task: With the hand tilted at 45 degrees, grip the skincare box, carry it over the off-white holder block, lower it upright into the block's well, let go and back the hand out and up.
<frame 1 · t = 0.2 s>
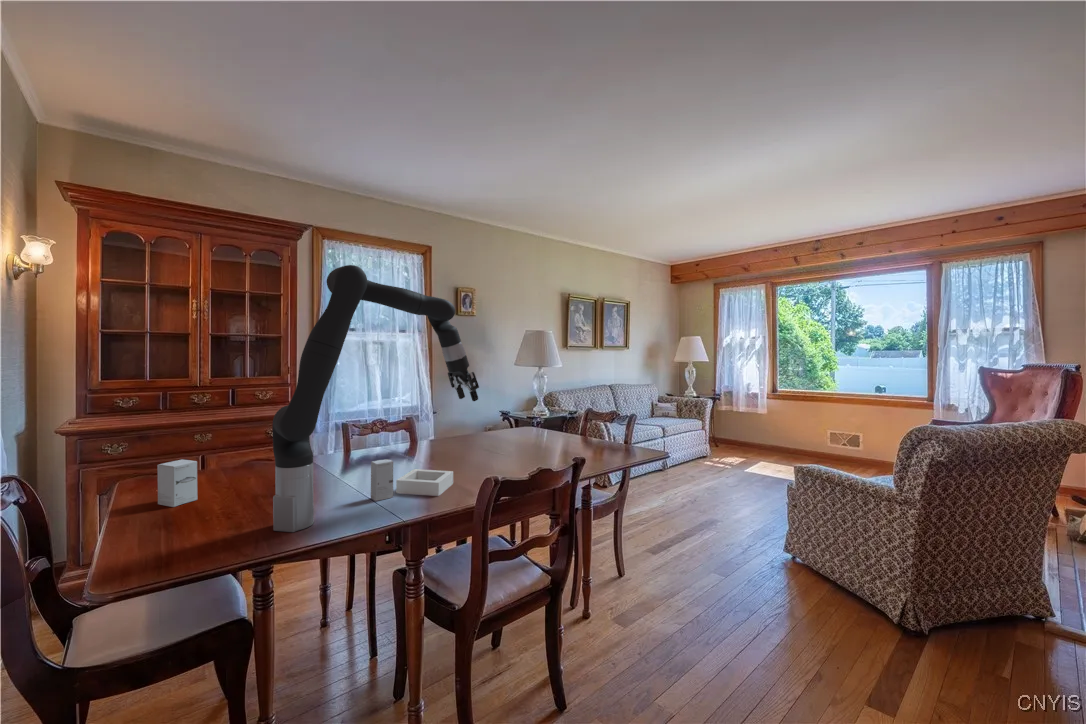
hand: (468, 399, 165), 31 cm above the table, fingers open, 8 cm apart
skincare box: (382, 498, 153), on the table
well holder: (425, 488, 163), on the table
supplement box: (178, 502, 146), on the table
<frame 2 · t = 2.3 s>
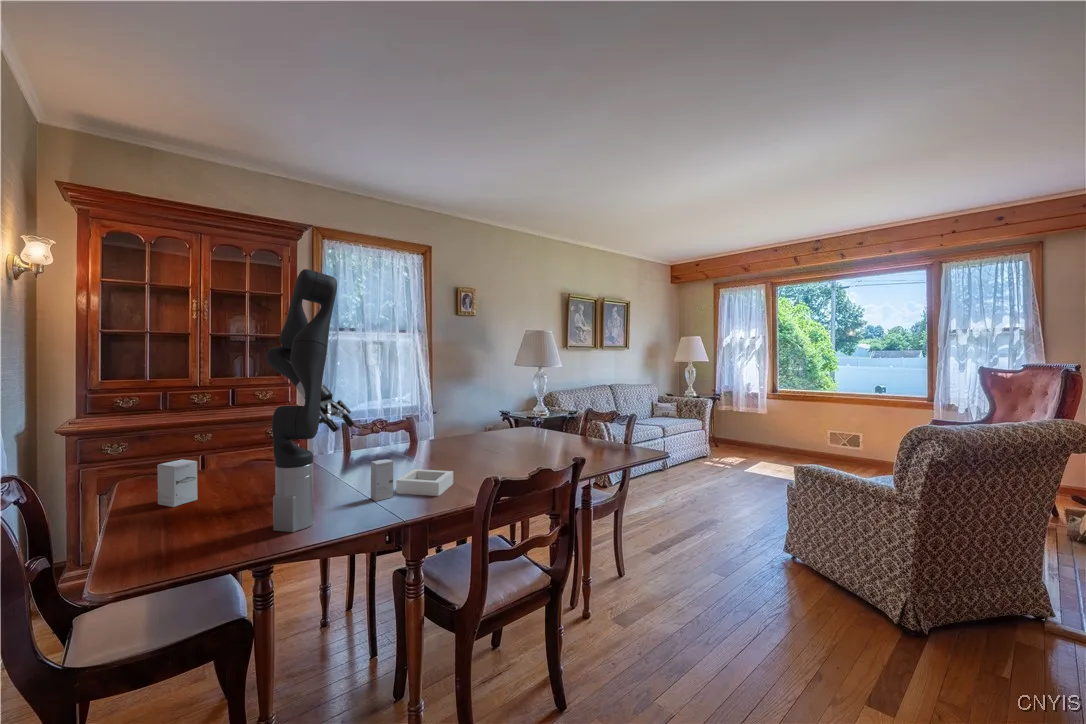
hand: (344, 427, 154), 22 cm above the table, fingers open, 8 cm apart
nothing on the table moved.
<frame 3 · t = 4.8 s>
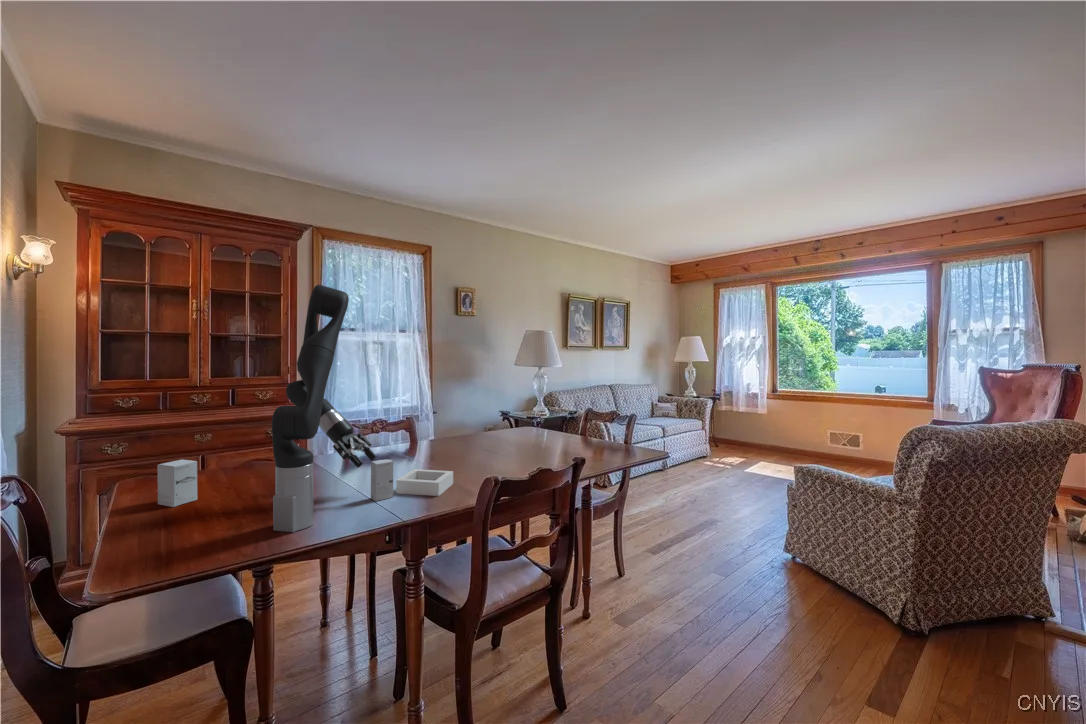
hand: (367, 462, 153), 11 cm above the table, fingers open, 8 cm apart
nothing on the table moved.
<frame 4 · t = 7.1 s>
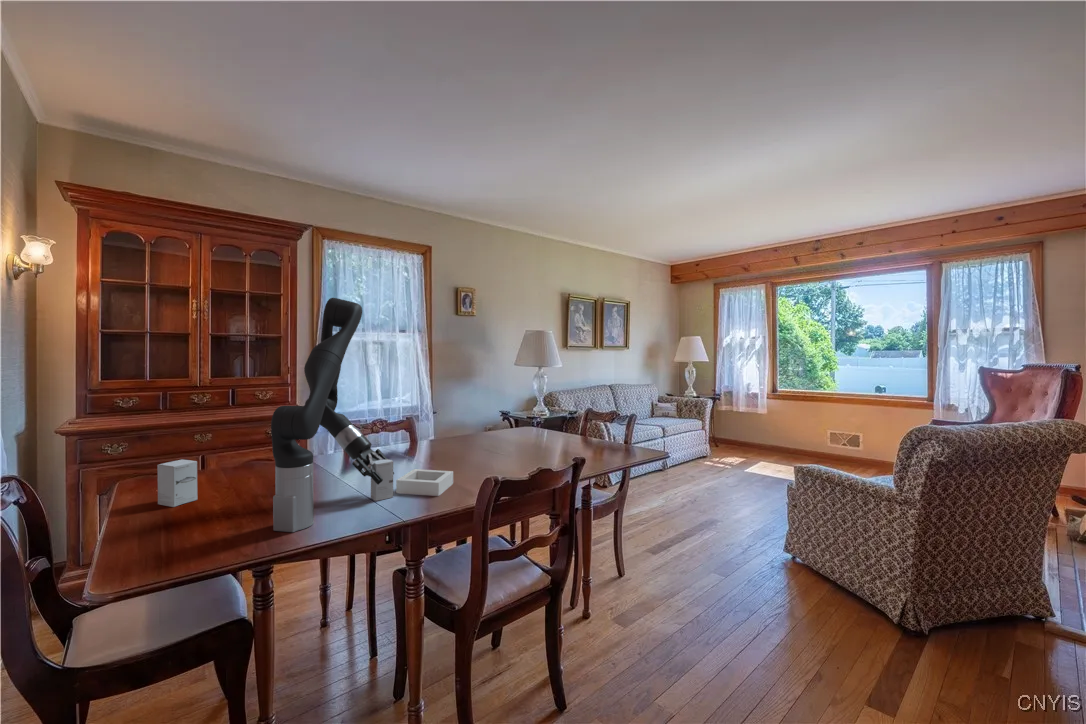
hand: (386, 478, 152), 6 cm above the table, fingers closed on skincare box, 7 cm apart
skincare box: (382, 498, 153), on the table, touching gripper
everything else where it was.
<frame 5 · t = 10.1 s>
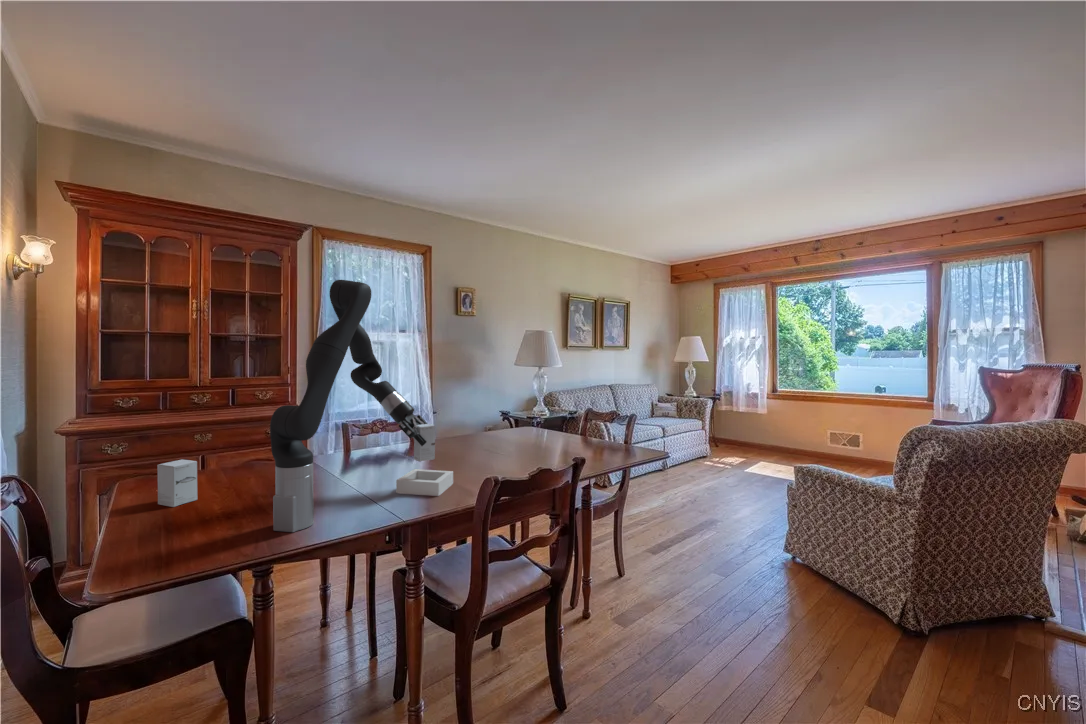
hand: (429, 441, 162), 16 cm above the table, fingers closed on skincare box, 7 cm apart
skincare box: (424, 460, 163), point 10 cm above the table, touching gripper
everything else where it was.
when the fingers open (8 cm above the table, at t = 13.1 s): skincare box stays where it is, resting on well holder.
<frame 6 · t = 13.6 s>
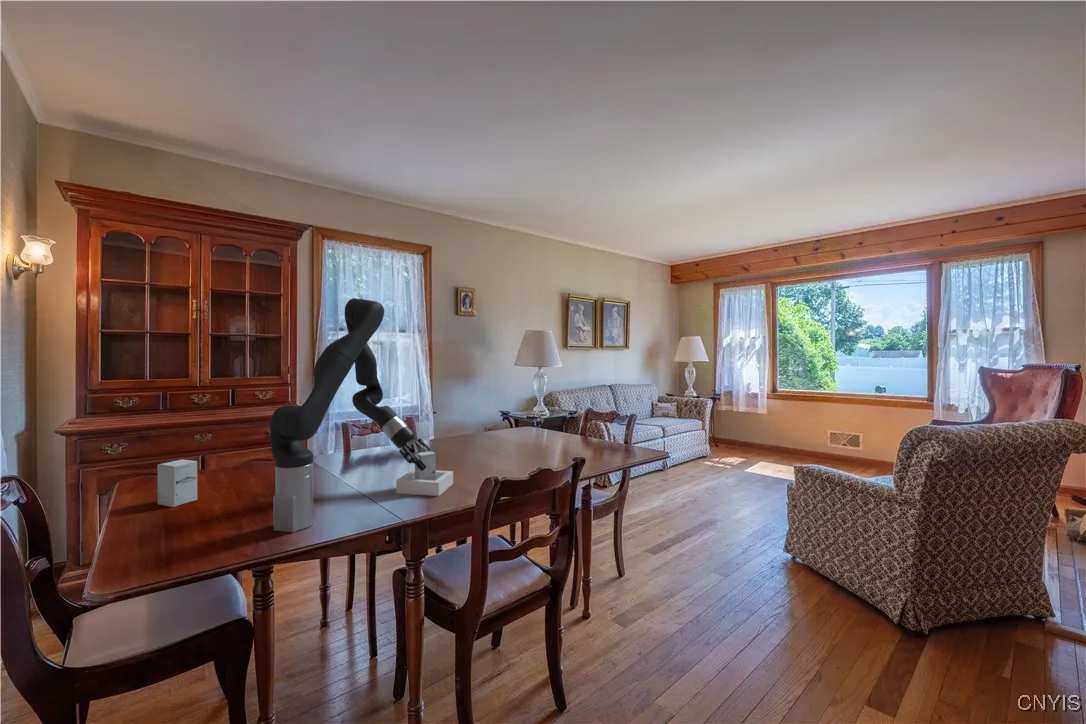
hand: (429, 466, 162), 8 cm above the table, fingers open, 8 cm apart
skincare box: (425, 487, 163), resting on well holder
everything else where it was.
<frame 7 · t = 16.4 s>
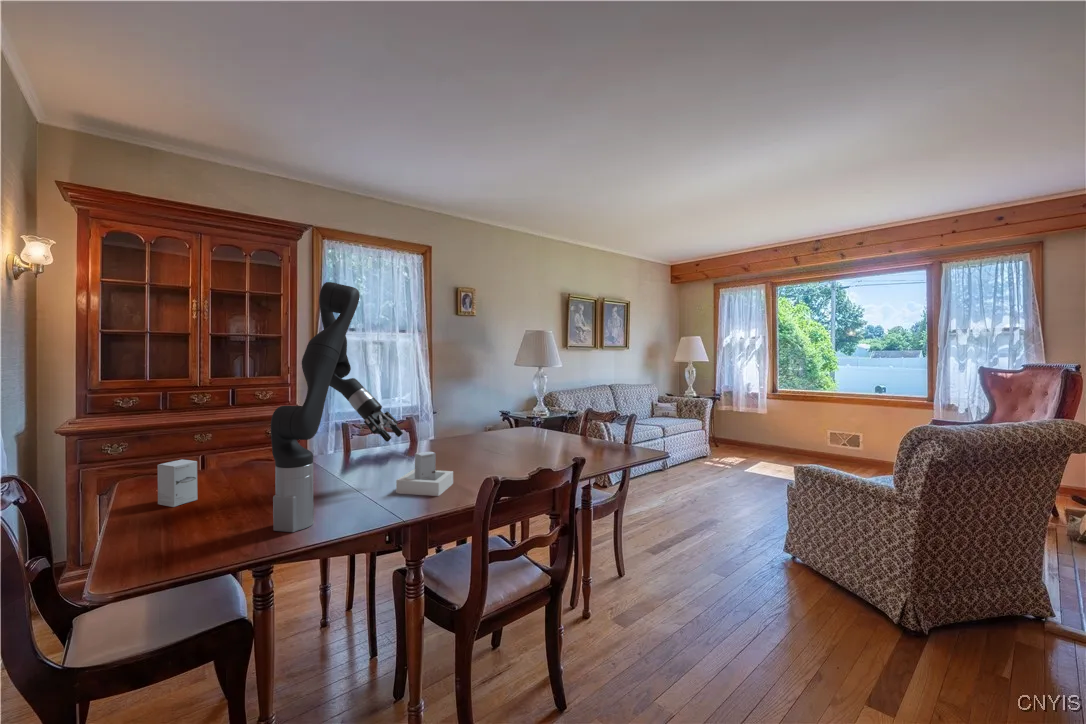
hand: (395, 437, 164), 17 cm above the table, fingers open, 8 cm apart
nothing on the table moved.
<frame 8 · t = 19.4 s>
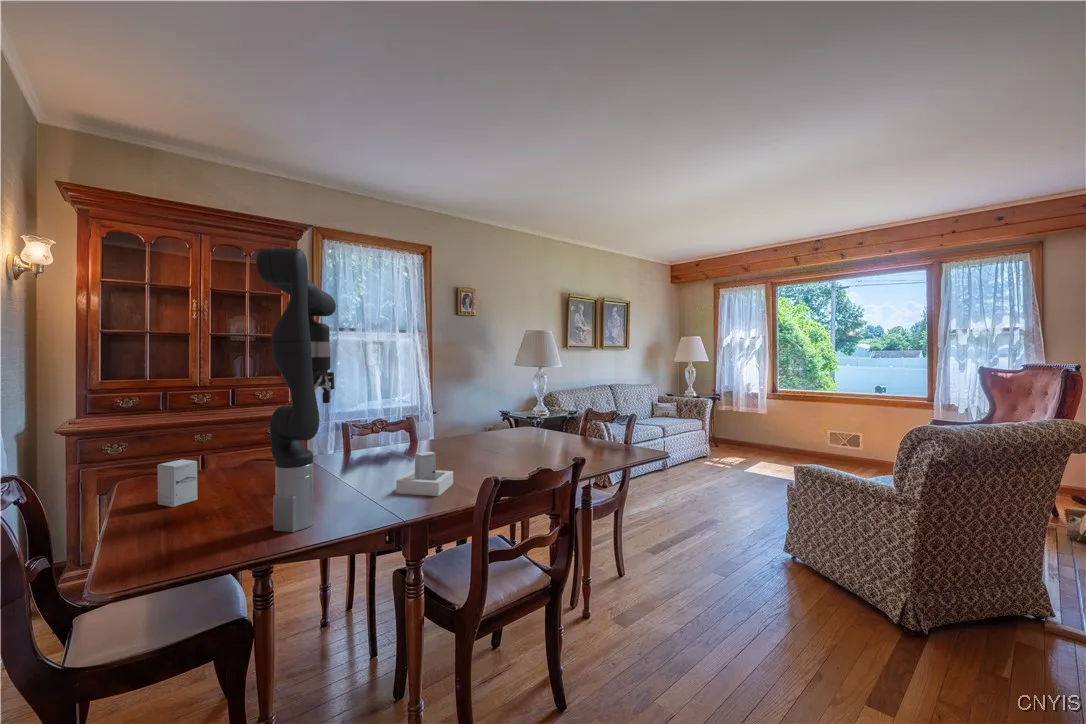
hand: (318, 404, 154), 30 cm above the table, fingers open, 8 cm apart
nothing on the table moved.
at the end: skincare box 0.3 cm off-centre on the well holder, point 0.1 cm above the well holder's base; skincare box tilted 0°; the gripper is holding nothing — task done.
